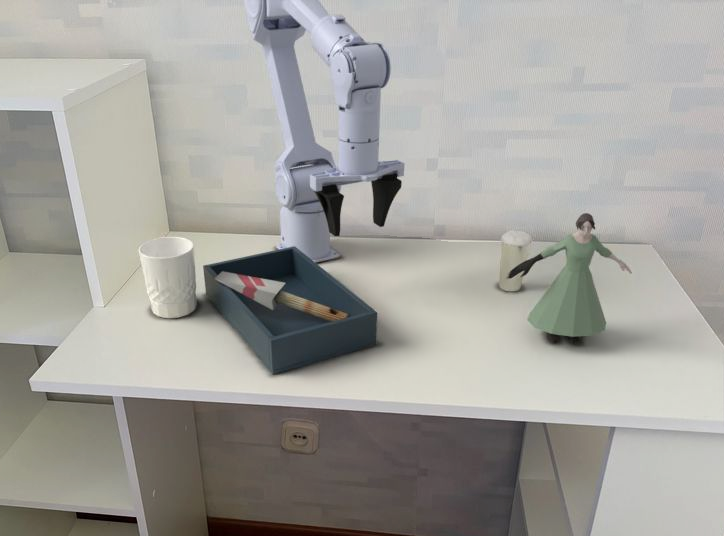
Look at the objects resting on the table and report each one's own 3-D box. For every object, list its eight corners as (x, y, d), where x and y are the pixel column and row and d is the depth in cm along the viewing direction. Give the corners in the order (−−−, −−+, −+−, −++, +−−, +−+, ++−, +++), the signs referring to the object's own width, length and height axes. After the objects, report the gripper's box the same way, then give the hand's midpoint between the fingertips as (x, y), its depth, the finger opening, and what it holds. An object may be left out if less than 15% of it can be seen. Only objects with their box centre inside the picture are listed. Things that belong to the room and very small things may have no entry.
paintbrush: (225, 261, 104) (351, 306, 101) (222, 277, 106) (347, 322, 102) (213, 271, 101) (344, 318, 98) (211, 287, 102) (339, 334, 99)
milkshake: (518, 298, 108) (527, 236, 103) (489, 286, 111) (496, 227, 106) (535, 289, 110) (545, 228, 105) (506, 278, 114) (514, 219, 109)
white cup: (137, 309, 107) (127, 248, 102) (178, 291, 112) (171, 232, 107) (169, 326, 102) (160, 262, 97) (211, 306, 107) (204, 245, 102)
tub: (205, 295, 111) (202, 265, 108) (295, 274, 116) (294, 245, 114) (272, 374, 91) (271, 340, 88) (376, 345, 97) (377, 312, 94)
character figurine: (500, 351, 95) (519, 224, 85) (494, 321, 102) (510, 201, 92) (624, 356, 93) (656, 228, 84) (608, 326, 100) (637, 204, 91)
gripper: (325, 152, 93) (326, 247, 100) (418, 137, 98) (412, 229, 106) (302, 139, 99) (304, 231, 106) (391, 126, 104) (387, 214, 111)
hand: (356, 229), depth 106 cm, fingers open, 7 cm apart
